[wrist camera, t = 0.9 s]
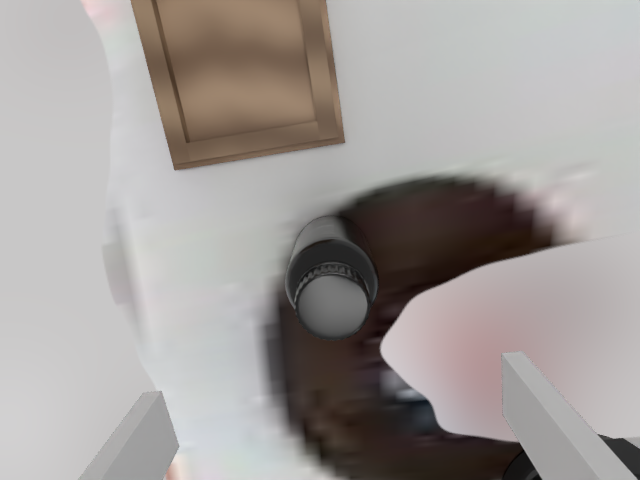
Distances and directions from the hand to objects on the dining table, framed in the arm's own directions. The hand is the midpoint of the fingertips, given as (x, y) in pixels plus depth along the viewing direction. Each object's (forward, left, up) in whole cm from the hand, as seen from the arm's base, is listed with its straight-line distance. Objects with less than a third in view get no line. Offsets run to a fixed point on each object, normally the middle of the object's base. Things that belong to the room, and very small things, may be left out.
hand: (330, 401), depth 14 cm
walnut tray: (+17, +5, -21) cm, 27 cm away
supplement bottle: (0, 0, -21) cm, 21 cm away
